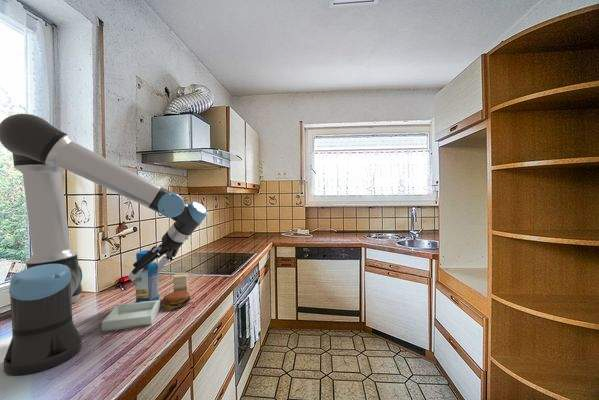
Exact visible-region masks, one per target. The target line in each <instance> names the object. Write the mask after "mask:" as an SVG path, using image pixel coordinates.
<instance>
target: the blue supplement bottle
mask: <svg viewBox="0 0 599 400" xmlns="http://www.w3.org/2000/svg"><path fill="white" fill-rule="evenodd" d="M150 250H151V249H149V250H141V251H138V252H136V253H135V256H136V257H135V260H136V261H138V260H139V259H140V258H141V257H142V256H144V255H145V254H146V253H147V252H148V251H150ZM157 263H158V262H156V261H155V260H154V261H152V262H151V263H149V264H148V265H147V266H145V267H144V268H143V270H142V272H141V273H140V274H139V275H138V276H137V277H136V279H135V280H134V283H135V303H138V302H147V301H155V300H160V294H159V293H160V291H159V290H160V288H159V287H160V286H159V276H160V271H158V265H157Z"/></svg>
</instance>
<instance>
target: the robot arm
mask: <svg viewBox="0 0 599 400" xmlns="http://www.w3.org/2000/svg"><path fill="white" fill-rule="evenodd" d="M0 143H1V145H2V146H3V147H4V149H6V150H7V151H9V152H11V154H12V160H13V168H14V169H16V170H17V171H19V172H20V173H21V174H22V179H23V189H24V195H25V196H24V197H25V203H26V204H25V205H26V213H27V222H28V229H29V237H30V245H31V246H30V247H31V251H32V252H31V254H32V255H30V257H29V258H28V259H27V260H26V262H25V264H26V269H22V270H20V271H18V272H17V273H15V274H14V275H13V276H12V277H11V278H10V282H9V288H8V293H9V296H10V297H9V298H10V299H9V300H10V315H11V316H10V317H11V329H12V331H11V332H12V334H11V335H12V337H11V340H10V342H9V345H8V348H7V351H6V354H5V356H4V359H3V363H2V364H3V373H5V374H6V375H8V376H9V375H10V376H24V375H29V374H34V373H38V372H41V371H44V370H45V371H46V370H48V369H51V368H54V367H56V366H58V365H61V364H62V363H64V362H67V361H68V360H70V359H72V358H73V357H74V356H77V354H78V353H79V352H81V350H82V346H83V344H82V343H83V342H82V337H81V334H80V333H79V331H78V329H77V327H76V325H75V322H74V321H73V303H72V295H73V293H74V292H75V291H76V289H77V288H78V287H79V285H80V283H81V284H82V280H83V270H82V267H81V266H80V264H79V260H78V253H77V251H74V250H73V249H71V244H70V236H69V235H70V234H69V227H68V218H67V209H66V200H65V193H64V192H65V191H64V184H63V183H64V181H63V176H62V173H63V171H65V170H66V171H68V172H71V173H72V174H75V175H77V176H78V177H81V178H83V179H86V180H87V181H89V182H92V183H94V184H97V186H101V187H103V188H105V189H107V190H110V191H111V192H113V193H116V194H118V195H120V196H122V197H124V198H127V199H128V200H131V201H133V202H135V203H137V204H139V205H142V206H144V207H146V208H148V209H150V210H151V211H153V212H156V213H159V214H160V215H162V216H164V217H166V218H167V219H168V218H169V219H171V220H172V221H174V222H173V223H172V225H171V226H170V227H169V228H168V229H167V230H166V231H165V233H164V234H163V235H162V237H161V243H160V244H159V245H158V246H156V245H154V246H152V247H151V248H150V249H149V250H150V251H148V252H147V253H146V254H145V255H144V256H142V257H141V258H140V259H139V260H138V261H137V260H136V261H135V262H134V263H133V264H132V266H133V267H134V268H132V270H131V271H130V272H129V273H128V275H127V277H128V278H129V280H130V281H131V282H135V279H136V277H137V276H138V275H139V274H140V273H141V272H142V270H143V268H144V267H145V266H147V265H148V264H149V263H151V262H152V261H155V260H157V259H159V258H160V260H159V261H158V262H156V263H157V265H158V272H160V271H162V269H163V268H164V267H165V266H166V265H167V263H168V262H169V261H170V262H171V261H173V260H174V258H175V257H176V256H177V255H178V253H179V250H180V248H181V246H182V245H184V243H185V242H186V241H188V240H189V237H190V236H191V235H192V234H193V233H194V232H195V230H197V228H198V227H199V226H200V225H201V224H202V222H203V221H204V220H205V218H206V217H207V215H208V210H207V209H206V207H205V206H204V205H203V204H202V203H200V202H197V201H191V202H190V203H189V204H188V203H187V202H185V201H184V198H183V197H182V196H181V195H179V194H178V193H176V192H172V191H171V190H168V189H167V188H164V187H163V186H160V185H158V184H157V183H154V182H153V181H151V180H149V179H147V178H145V177H143V176H141V175H139V174H137V173H135V172H133V171H131V170H130V169H128V168H126V167H123V166H121V165H120V164H117V163H116V162H114V161H112V160H110V159H108V158H106V157H104V156H102V155H100V154H98V153H96V152H94V151H92V150H91V149H89V148H87V147H84V146H82V145H81V144H79V143H77V142H75V141H73V140H72V137H71V136H70V135H69V134H68V133H66V132H63V131H62V130H60V129H58V128H57V127H55V126H54V125H52V124H51V123H50V122H48V121H47V120H46V119H45V118H43V117H40V116H37V115H35V114H31V113H15V114H12V115H9V116H7V117H6V118H4V119H3V120H2V121H1V122H0ZM162 256H163V257H162ZM161 257H162V258H161Z"/></svg>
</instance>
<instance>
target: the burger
mask: <svg viewBox="0 0 599 400" xmlns="http://www.w3.org/2000/svg"><path fill="white" fill-rule="evenodd" d="M190 301H191V295H190V293H189V291H188V292H187V291H174V290H173V291H172V292H168V293H167V294H165V295H164V296H163V297H162V304H161V305H162V308H164V309H166V310H173V309H178V308H182V307H184V306H186V305H187V304H189V303H190Z"/></svg>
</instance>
